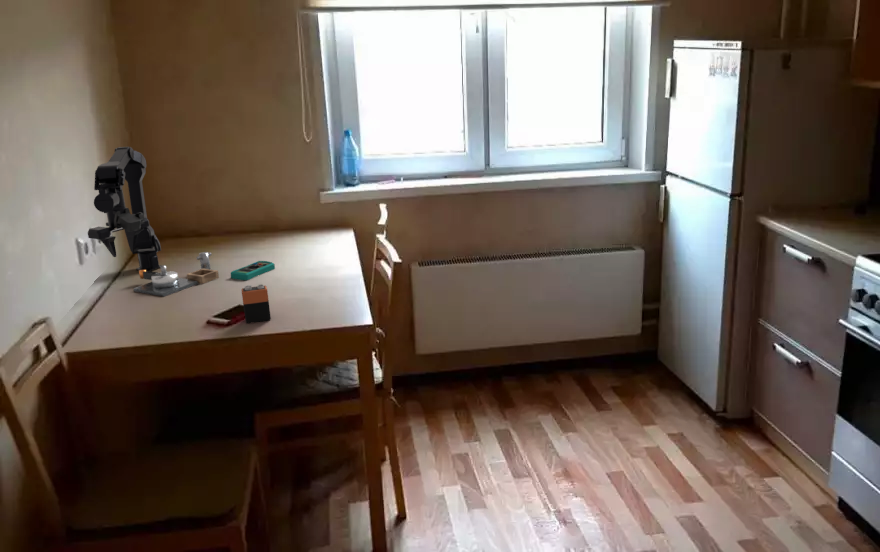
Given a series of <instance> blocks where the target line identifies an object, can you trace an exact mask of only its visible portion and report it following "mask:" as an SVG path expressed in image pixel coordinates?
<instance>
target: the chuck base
mask: <svg viewBox="0 0 880 552" xmlns="http://www.w3.org/2000/svg"><path fill="white" fill-rule="evenodd" d="M178 279H179V283H178V284H177V285H174V286H171V287H165V288H156V287H153V284H152V281H151V282H147V283H145V284H141V285H139V286H136V287H133V291H134V292H136V293H142V294H148V295H152V296H153V295H154V296H158V297H167V296H170V295H172V294H175V293H177V292H180V291H182V290H185V289H188V288H191V287H193V286H197V285H199V283H198V281H196V280H190V279H187V278H182V277H178Z"/></svg>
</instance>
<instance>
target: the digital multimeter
mask: <svg viewBox="0 0 880 552" xmlns="http://www.w3.org/2000/svg"><path fill="white" fill-rule="evenodd" d="M275 266H276V263H273V261H267V260H258V261H255V262H252V263H250V264H248V265H246V266H243V267H241V268H238V269H235V270H232V271H231V272H230V279H234V280H241V281H249V280H252V279H254V278H256V277H258V275H259V276H261V275H263V274H266V273H268V272H270V271H274V270H275V269H276V267H275Z"/></svg>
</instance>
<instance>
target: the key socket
mask: <svg viewBox="0 0 880 552" xmlns="http://www.w3.org/2000/svg"><path fill="white" fill-rule="evenodd" d="M219 278H220V277H219V270H215V269H211V270H210V269H201V268H200V269H198V270H194V271H192V272H189V273H186V279H190V280H196V281H198V284H199V285H200V284H201V285H203V284H207V283H209V282H211V281H214V280H217V279H219Z"/></svg>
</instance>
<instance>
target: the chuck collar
mask: <svg viewBox="0 0 880 552" xmlns="http://www.w3.org/2000/svg"><path fill="white" fill-rule="evenodd" d="M161 265H162V264H161ZM160 267H161V268H160V272H156V271H153V270H152V271H146V269H142V270H138V273H139V278H140V279H141V280H149V281H151V282H152V284H153V287H156V288H165V287H171V286H174V285H177V284H178V283H179V279H178V278H179V274H178V272H177V271H172V270H170V271H167V265H166V264H165V265H164V264H163V265H162V266H160Z"/></svg>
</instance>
